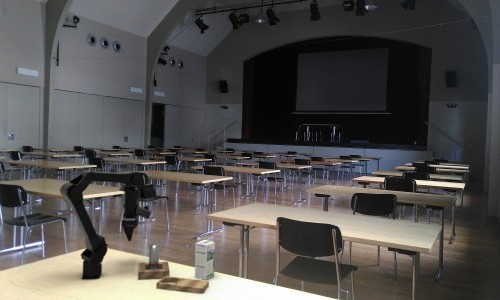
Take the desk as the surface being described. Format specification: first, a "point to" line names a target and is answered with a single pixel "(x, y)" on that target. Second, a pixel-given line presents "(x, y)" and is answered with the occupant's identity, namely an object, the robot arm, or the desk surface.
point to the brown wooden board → (183, 284)
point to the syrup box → (204, 259)
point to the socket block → (153, 271)
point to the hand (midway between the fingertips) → (130, 238)
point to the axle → (153, 256)
